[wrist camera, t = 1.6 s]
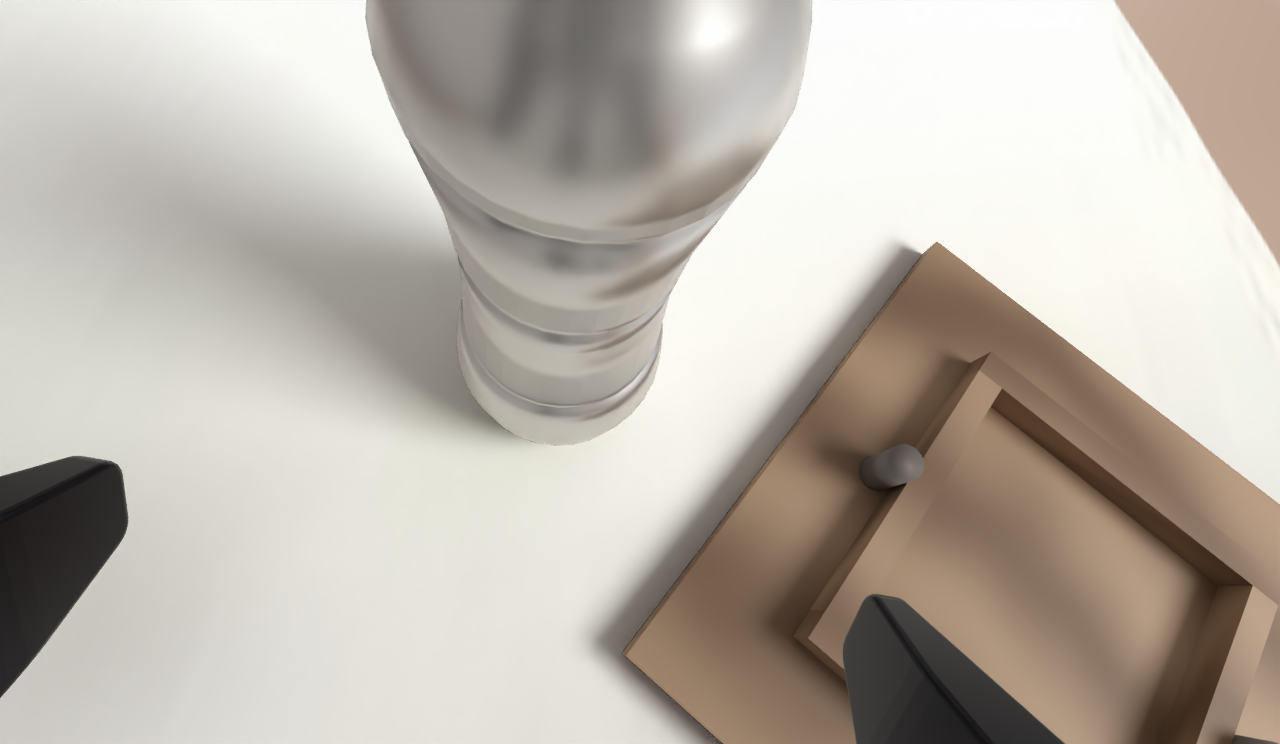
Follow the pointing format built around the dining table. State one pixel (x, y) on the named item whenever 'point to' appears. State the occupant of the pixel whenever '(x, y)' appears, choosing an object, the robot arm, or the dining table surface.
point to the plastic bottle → (582, 175)
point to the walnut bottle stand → (984, 542)
